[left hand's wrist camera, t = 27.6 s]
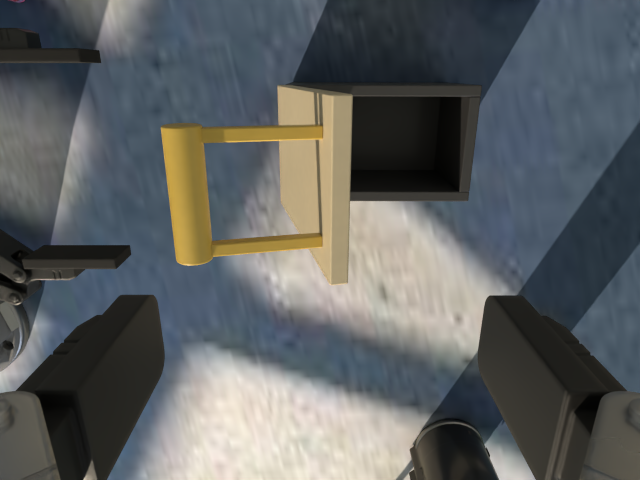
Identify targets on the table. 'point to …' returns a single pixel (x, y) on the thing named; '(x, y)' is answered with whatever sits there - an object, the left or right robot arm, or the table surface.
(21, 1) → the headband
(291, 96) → the lid
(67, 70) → the table surface
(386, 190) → the chest
